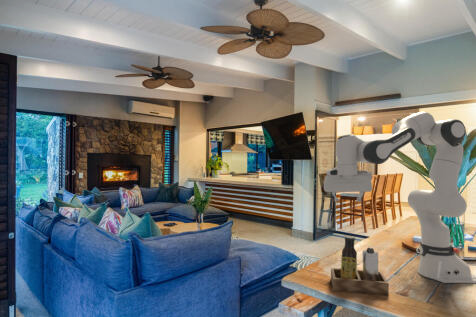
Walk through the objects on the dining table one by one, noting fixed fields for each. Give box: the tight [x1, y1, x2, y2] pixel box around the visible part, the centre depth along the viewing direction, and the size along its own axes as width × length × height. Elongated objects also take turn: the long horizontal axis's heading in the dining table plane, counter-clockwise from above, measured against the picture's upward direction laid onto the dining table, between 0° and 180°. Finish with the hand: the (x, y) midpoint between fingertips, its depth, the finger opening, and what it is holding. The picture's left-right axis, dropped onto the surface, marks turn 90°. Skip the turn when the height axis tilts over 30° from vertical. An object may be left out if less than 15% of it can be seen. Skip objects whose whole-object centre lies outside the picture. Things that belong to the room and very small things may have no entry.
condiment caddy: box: [330, 267, 390, 296], centre depth 125 cm, size 21×12×5 cm, turn 77°
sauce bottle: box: [340, 235, 358, 279], centre depth 127 cm, size 7×6×20 cm
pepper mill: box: [362, 246, 379, 281], centre depth 124 cm, size 6×6×16 cm
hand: (347, 201), depth 132 cm, fingers open, 8 cm apart
